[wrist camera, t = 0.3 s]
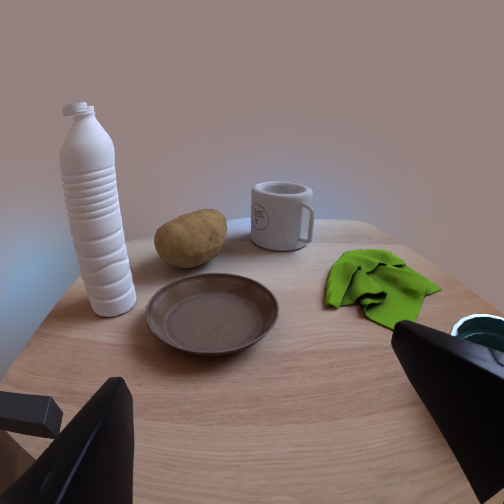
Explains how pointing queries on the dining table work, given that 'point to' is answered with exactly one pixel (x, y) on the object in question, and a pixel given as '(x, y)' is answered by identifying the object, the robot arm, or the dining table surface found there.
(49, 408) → the ladle
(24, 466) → the brown rectangular block
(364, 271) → the cloth
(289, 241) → the mug
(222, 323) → the saucer
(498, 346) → the bowl
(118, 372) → the dining table surface
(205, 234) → the potato
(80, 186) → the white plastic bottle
